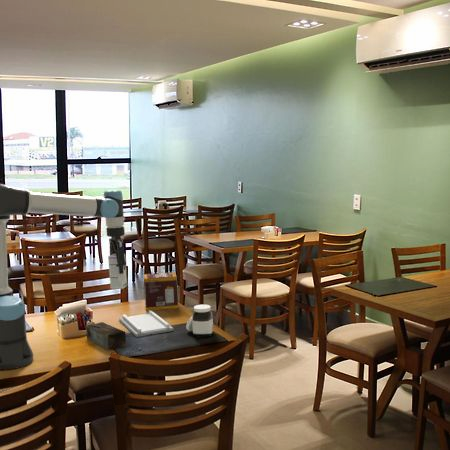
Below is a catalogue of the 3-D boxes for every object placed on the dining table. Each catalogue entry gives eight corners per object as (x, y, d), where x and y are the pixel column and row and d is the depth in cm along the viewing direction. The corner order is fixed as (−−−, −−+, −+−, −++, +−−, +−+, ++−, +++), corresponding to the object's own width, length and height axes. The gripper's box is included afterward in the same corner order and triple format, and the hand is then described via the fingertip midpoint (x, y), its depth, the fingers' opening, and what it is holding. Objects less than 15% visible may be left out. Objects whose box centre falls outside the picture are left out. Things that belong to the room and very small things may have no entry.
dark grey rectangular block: (104, 335, 234) (103, 319, 233) (127, 346, 219) (126, 330, 218) (86, 339, 229) (85, 323, 228) (108, 351, 214) (107, 335, 213)
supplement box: (144, 305, 277) (143, 274, 275) (176, 302, 280) (174, 271, 278) (145, 310, 267) (144, 278, 265) (178, 308, 270) (177, 276, 268)
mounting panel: (173, 330, 236) (173, 324, 236) (136, 337, 229) (135, 330, 229) (153, 315, 259) (153, 309, 259) (119, 320, 253) (119, 314, 252)
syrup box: (123, 289, 241) (121, 255, 239) (110, 288, 242) (107, 255, 240) (127, 285, 246) (125, 253, 244) (114, 285, 247) (112, 253, 245)
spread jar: (209, 339, 224) (208, 310, 223) (182, 337, 227) (180, 309, 225) (216, 329, 236) (215, 302, 235) (189, 328, 238) (188, 301, 237)
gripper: (131, 228, 233) (134, 282, 236) (117, 223, 251) (120, 273, 254) (113, 230, 230) (116, 285, 233) (100, 224, 248) (103, 275, 251)
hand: (118, 279), depth 244 cm, fingers closed on syrup box, 8 cm apart
